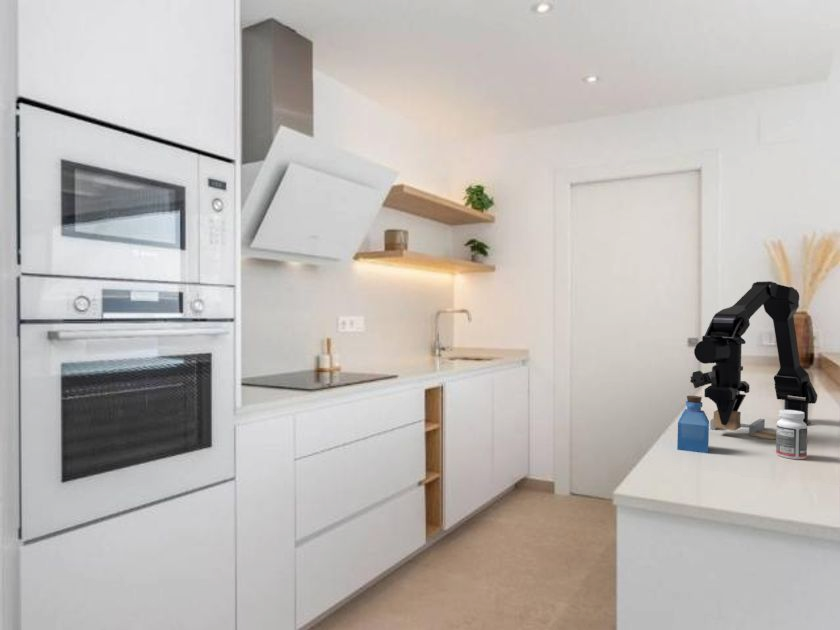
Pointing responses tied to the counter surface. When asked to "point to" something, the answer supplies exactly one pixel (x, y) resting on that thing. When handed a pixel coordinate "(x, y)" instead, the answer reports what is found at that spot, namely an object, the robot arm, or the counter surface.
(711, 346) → the robot arm
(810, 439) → the counter surface
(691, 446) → the blue corked bottle
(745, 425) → the trap tile
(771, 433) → the coaster
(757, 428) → the channel
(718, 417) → the block
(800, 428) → the pill bottle
